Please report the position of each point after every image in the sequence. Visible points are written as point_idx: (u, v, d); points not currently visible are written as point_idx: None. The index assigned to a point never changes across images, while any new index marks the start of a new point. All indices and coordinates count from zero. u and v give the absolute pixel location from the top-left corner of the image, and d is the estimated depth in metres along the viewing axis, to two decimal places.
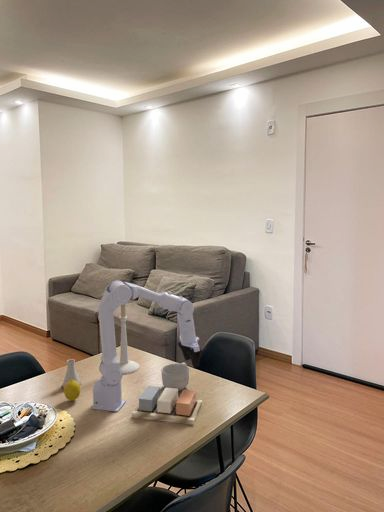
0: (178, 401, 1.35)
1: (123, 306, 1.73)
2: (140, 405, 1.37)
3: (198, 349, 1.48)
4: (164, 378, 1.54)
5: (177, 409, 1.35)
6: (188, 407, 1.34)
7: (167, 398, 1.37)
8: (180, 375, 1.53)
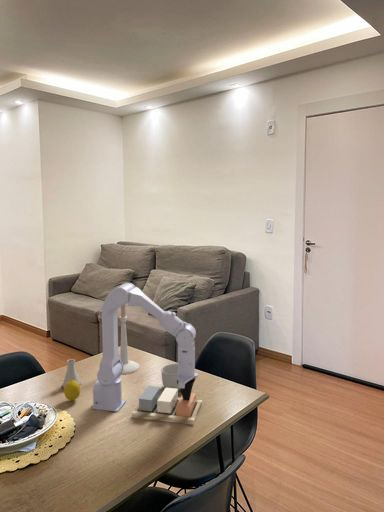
0: (178, 404, 1.35)
1: (123, 306, 1.73)
2: (140, 405, 1.37)
3: (182, 386, 1.31)
4: (164, 378, 1.54)
5: (177, 412, 1.35)
6: (188, 410, 1.34)
7: (167, 398, 1.37)
8: None
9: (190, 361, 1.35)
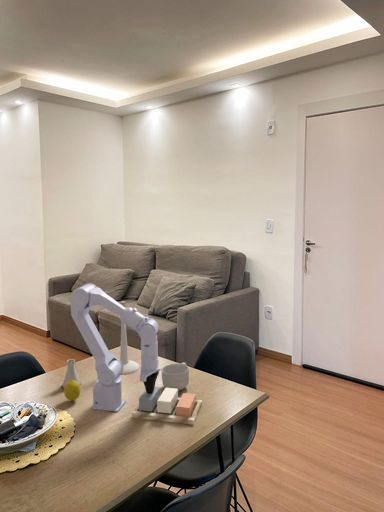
0: (178, 405, 1.35)
1: (123, 306, 1.73)
2: (140, 405, 1.37)
3: (144, 379, 1.33)
4: (164, 378, 1.54)
5: (177, 413, 1.35)
6: (188, 411, 1.34)
7: (167, 398, 1.37)
8: (180, 375, 1.53)
9: (153, 355, 1.37)
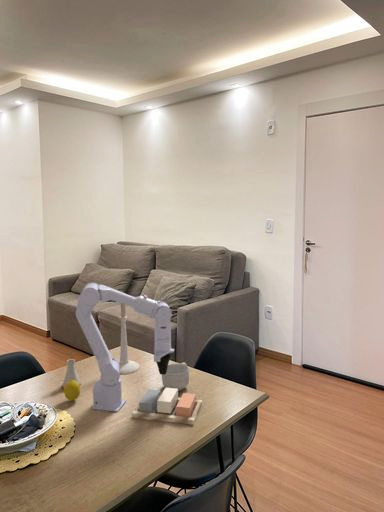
0: (178, 405, 1.35)
1: (123, 306, 1.73)
2: (140, 409, 1.38)
3: (158, 360, 1.38)
4: (164, 378, 1.54)
5: (177, 413, 1.35)
6: (188, 411, 1.34)
7: (167, 398, 1.37)
8: (180, 375, 1.53)
9: (168, 336, 1.43)
